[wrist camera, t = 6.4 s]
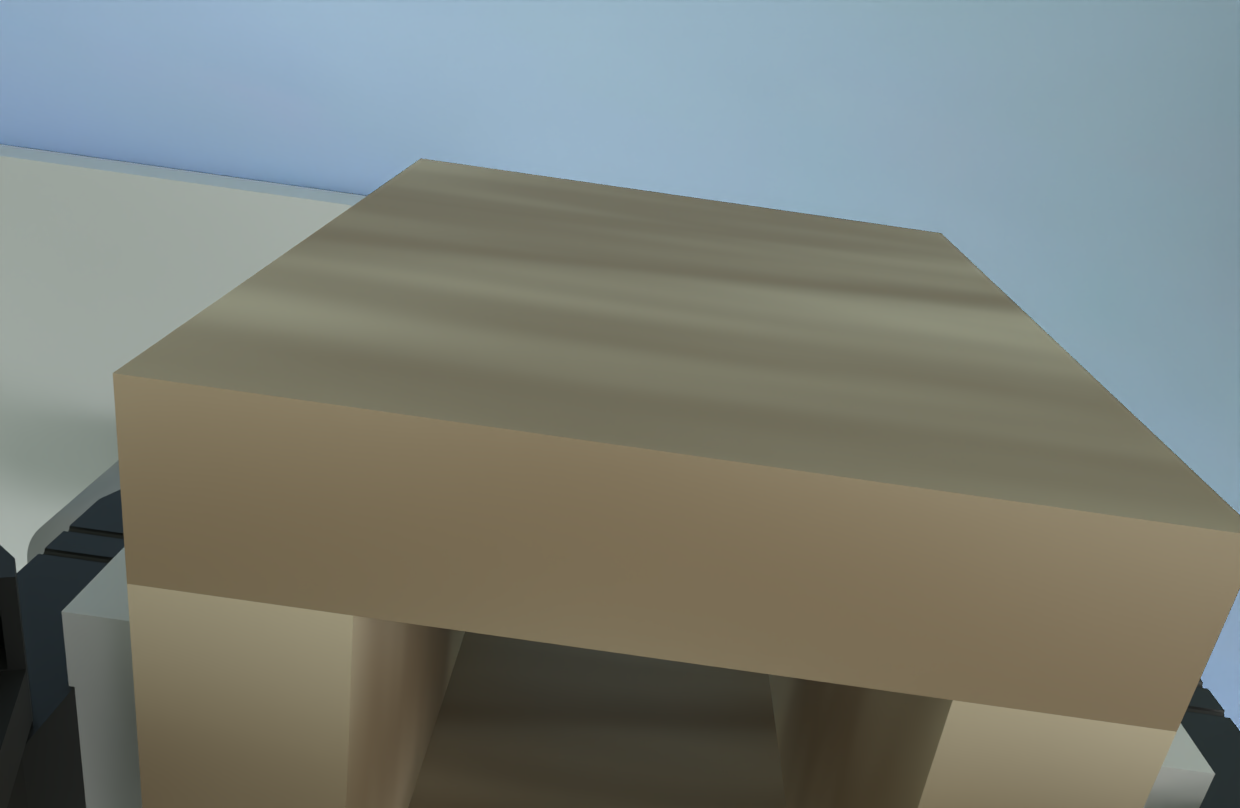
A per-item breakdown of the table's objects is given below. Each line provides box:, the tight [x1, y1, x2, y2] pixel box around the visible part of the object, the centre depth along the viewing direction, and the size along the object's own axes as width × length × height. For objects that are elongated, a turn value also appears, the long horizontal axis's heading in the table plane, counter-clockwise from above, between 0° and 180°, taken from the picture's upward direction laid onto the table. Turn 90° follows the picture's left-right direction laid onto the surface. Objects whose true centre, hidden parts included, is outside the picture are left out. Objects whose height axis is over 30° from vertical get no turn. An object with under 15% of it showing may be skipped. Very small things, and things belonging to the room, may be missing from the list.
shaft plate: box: [0, 144, 366, 572], centre depth 26 cm, size 16×13×6 cm
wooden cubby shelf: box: [113, 159, 1240, 808], centre depth 11 cm, size 7×7×9 cm
